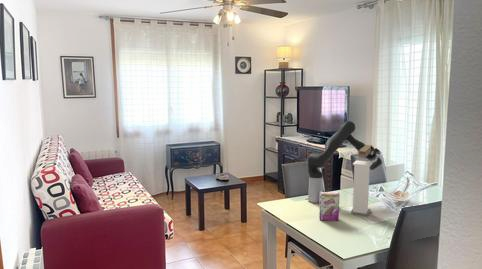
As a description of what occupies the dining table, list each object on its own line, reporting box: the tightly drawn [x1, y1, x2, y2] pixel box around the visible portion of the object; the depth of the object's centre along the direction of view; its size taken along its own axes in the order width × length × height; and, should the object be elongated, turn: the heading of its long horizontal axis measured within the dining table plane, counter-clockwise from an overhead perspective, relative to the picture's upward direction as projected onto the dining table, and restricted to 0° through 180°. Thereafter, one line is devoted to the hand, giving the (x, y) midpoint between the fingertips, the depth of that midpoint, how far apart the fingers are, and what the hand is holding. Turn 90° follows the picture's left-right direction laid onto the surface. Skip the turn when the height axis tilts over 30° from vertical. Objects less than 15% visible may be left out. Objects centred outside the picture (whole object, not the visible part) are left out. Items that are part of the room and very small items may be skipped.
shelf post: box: [350, 160, 373, 217], centre depth 226 cm, size 10×10×32 cm
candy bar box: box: [318, 191, 341, 222], centre depth 216 cm, size 11×5×16 cm, turn 84°
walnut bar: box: [357, 144, 373, 159], centre depth 230 cm, size 24×4×4 cm, turn 151°
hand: (367, 147), depth 236 cm, fingers closed on walnut bar, 4 cm apart
